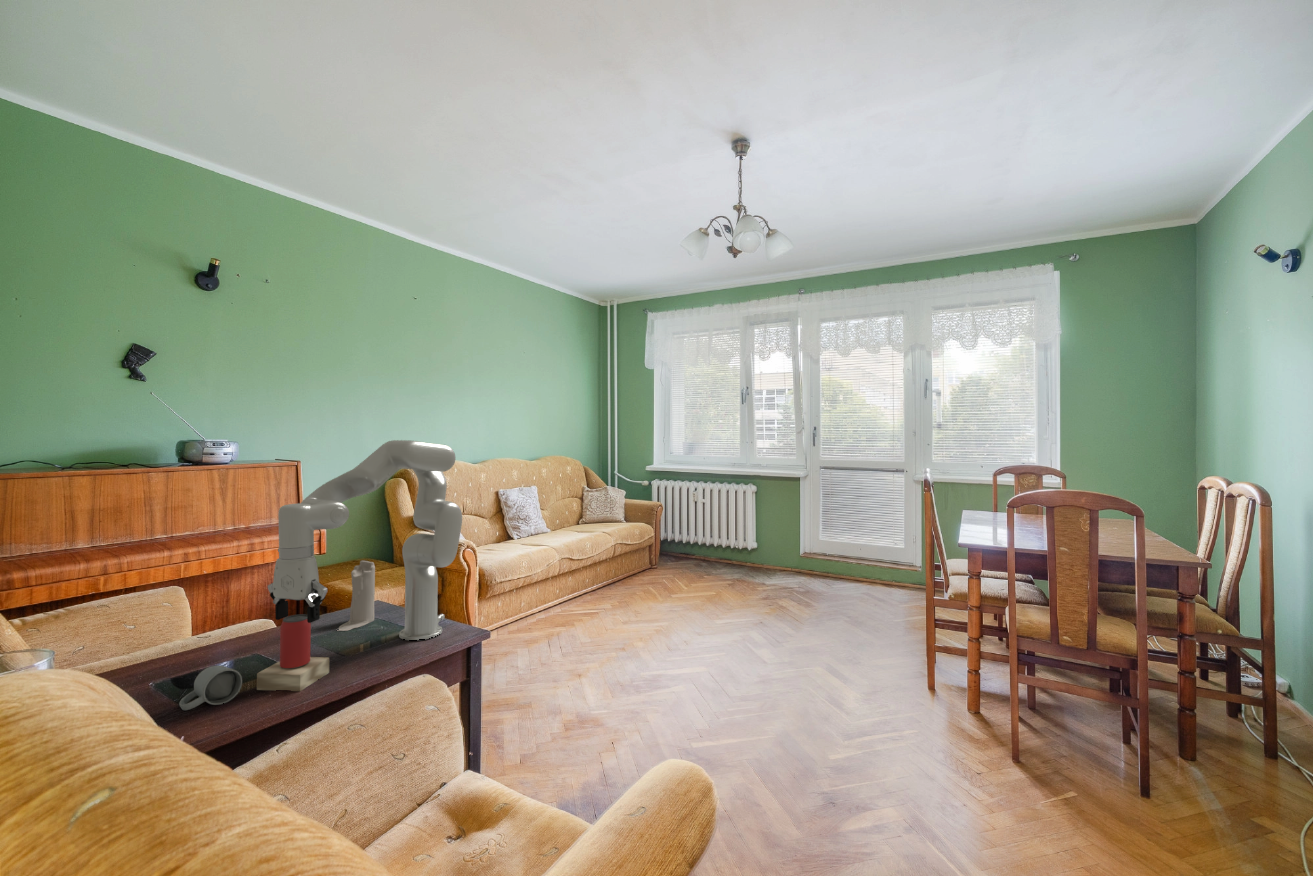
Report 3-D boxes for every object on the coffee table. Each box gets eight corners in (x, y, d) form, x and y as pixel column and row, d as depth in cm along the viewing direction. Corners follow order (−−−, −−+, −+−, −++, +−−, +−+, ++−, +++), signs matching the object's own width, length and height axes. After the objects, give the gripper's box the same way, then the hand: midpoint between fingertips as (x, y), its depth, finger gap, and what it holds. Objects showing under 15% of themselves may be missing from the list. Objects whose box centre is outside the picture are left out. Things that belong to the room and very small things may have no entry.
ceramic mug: (228, 689, 137) (228, 657, 137) (243, 697, 132) (242, 665, 132) (173, 706, 128) (173, 673, 128) (187, 716, 123) (187, 681, 123)
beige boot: (330, 630, 179) (331, 568, 179) (360, 617, 193) (361, 559, 193) (350, 631, 178) (351, 569, 178) (378, 618, 192) (379, 560, 192)
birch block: (288, 671, 147) (289, 656, 147) (329, 672, 147) (329, 657, 147) (256, 689, 136) (257, 673, 136) (300, 691, 136) (300, 674, 136)
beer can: (295, 671, 138) (296, 622, 138) (272, 668, 139) (273, 620, 139) (316, 661, 144) (317, 614, 144) (294, 658, 145) (295, 612, 146)
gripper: (255, 554, 140) (256, 622, 140) (312, 557, 136) (313, 627, 136) (281, 548, 147) (282, 612, 148) (337, 551, 143) (337, 617, 144)
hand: (297, 619), depth 142 cm, fingers open, 9 cm apart
